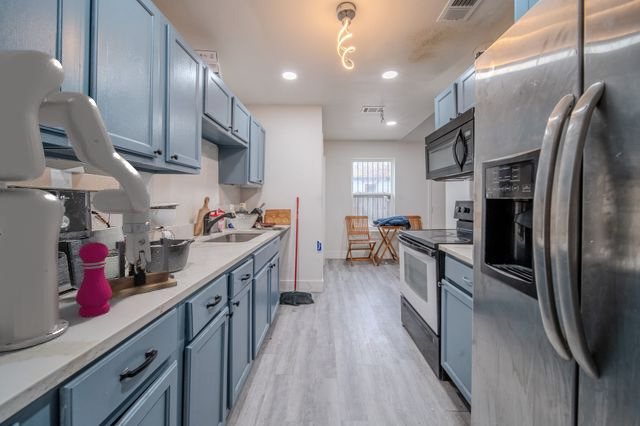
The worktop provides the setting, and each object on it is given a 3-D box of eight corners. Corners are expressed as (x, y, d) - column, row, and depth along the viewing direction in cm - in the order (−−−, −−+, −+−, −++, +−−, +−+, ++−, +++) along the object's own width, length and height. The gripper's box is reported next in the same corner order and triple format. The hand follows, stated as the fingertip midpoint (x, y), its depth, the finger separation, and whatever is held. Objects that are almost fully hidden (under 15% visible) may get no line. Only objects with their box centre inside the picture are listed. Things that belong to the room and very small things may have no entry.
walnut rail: (104, 292, 81) (104, 282, 81) (102, 291, 83) (102, 280, 83) (168, 280, 95) (168, 271, 95) (165, 279, 97) (165, 270, 97)
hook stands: (117, 288, 90) (116, 243, 90) (112, 285, 94) (112, 241, 93) (174, 278, 104) (174, 238, 103) (168, 275, 108) (168, 237, 107)
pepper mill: (119, 308, 74) (118, 235, 73) (94, 319, 66) (93, 238, 66) (95, 306, 74) (94, 234, 74) (68, 317, 67) (66, 238, 67)
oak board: (97, 302, 78) (97, 297, 78) (91, 295, 83) (91, 290, 83) (177, 285, 94) (177, 281, 94) (168, 281, 100) (168, 277, 100)
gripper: (158, 229, 85) (159, 286, 86) (141, 226, 97) (141, 276, 97) (130, 231, 80) (131, 292, 80) (115, 227, 91) (116, 280, 91)
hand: (137, 282), depth 89 cm, fingers open, 4 cm apart
